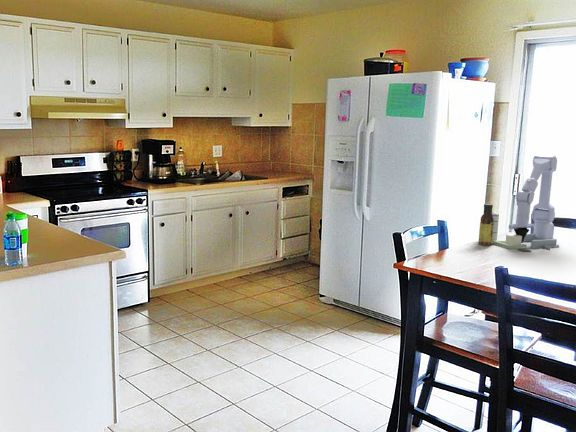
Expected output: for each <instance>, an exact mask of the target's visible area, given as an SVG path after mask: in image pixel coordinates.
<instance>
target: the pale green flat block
mask: <svg viewBox="0 0 576 432" xmlns="http://www.w3.org/2000/svg"><path fill="white" fill-rule="evenodd" d="M505 243H506V239H500V240H498V239H497V241H493V242H492V245H495V246H498V247H501V248H505V249H509V250H512V249H514V250H515V249H527V246H528V244H526V243H521V244H516V245H507V244H505Z"/></svg>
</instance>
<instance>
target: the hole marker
mask: <svg viewBox="0 0 576 432" xmlns="http://www.w3.org/2000/svg"><path fill="white" fill-rule="evenodd" d="M516 249H517V251H518V252H522V253H531V252H532V250H531V249H527V248H516Z"/></svg>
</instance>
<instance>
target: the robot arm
mask: <svg viewBox="0 0 576 432" xmlns="http://www.w3.org/2000/svg"><path fill="white" fill-rule="evenodd" d="M557 164H558V158H557V157H556V155H546V154H535V155H534V156H533V158H532V165H533V169H532V172H531V174H530V177H529V178H527V179H526V180H525V182H524V184H523V185H522V188H521V190H520V191H518V192H517V193H516V196H515V199H516V206H517V208H516V216H515V217H516V218H515V223H511V224H508V229H509V230H514V234H516V235H519V236H522V241H521V244H524V241H523V240H524V238H525V236H526V234H529V232H530V229H533V233H532V234H535V236H538V237H542V238H545V239H555V238H554V234H555V233H554V232H555V225H554V223H553V222H554V220H555V217H556V216H555V215H556V213H555V207H554V206H553V205H552V204H550V202H551V201H550V198H551V190H552V189H551V188H552V181H553V174H554V172H556V171H557V168H558V167H557ZM539 178H540V187H539V189H540V190H539V195H538V196H539V197H538V198H539V199H538V203H537V204H535V205H534V206H533V207H532V211H531V204H532V203H533V201H534V197H535V191H536V189H537V187H538V185H539V183H538V180H539ZM530 212H531V213H530ZM530 214H531V218H532V220H533V222H534V223H529V221H530Z"/></svg>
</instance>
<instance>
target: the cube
mask: <svg viewBox="0 0 576 432" xmlns="http://www.w3.org/2000/svg"><path fill="white" fill-rule="evenodd" d="M505 240H506V243H505V244H507V245H516V244H522V243H521V241H522V236H519V235H516V233H510V234H506V235H505Z"/></svg>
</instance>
